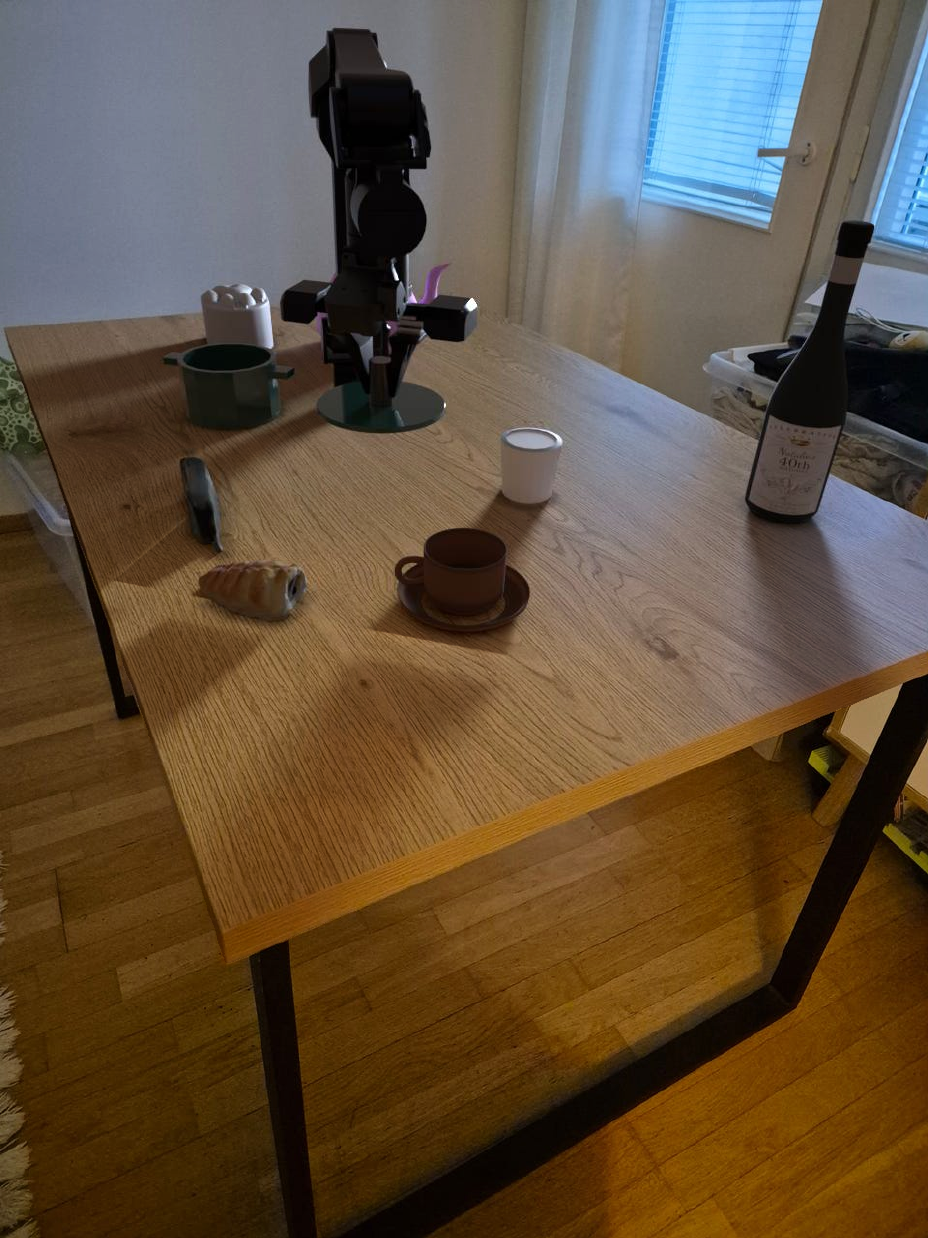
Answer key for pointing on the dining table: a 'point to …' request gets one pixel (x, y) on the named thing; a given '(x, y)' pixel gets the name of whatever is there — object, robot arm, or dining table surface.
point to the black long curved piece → (201, 501)
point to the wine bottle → (809, 400)
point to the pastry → (255, 587)
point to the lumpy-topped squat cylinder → (237, 315)
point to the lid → (380, 404)
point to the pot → (230, 384)
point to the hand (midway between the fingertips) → (381, 394)
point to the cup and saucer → (462, 579)
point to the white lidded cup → (529, 464)
